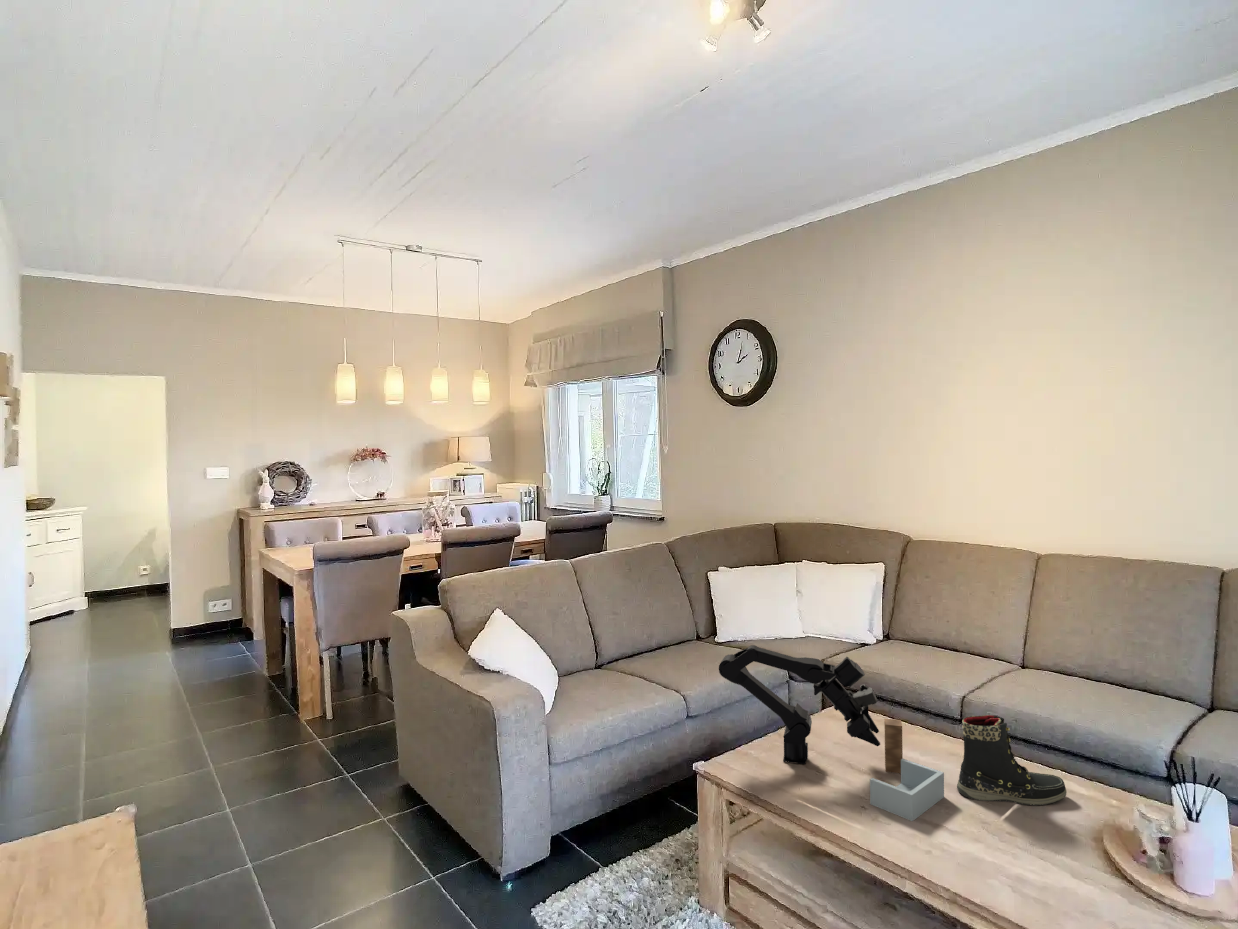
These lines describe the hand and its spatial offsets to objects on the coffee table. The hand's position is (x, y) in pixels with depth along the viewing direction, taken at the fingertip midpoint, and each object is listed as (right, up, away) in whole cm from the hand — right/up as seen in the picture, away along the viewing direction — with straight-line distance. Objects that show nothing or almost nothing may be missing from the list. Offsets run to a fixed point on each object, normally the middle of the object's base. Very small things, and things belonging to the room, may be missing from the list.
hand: (878, 738), depth 199 cm
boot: (+29, -9, -16) cm, 34 cm away
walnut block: (+4, -9, -1) cm, 10 cm away
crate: (0, -9, -18) cm, 20 cm away
